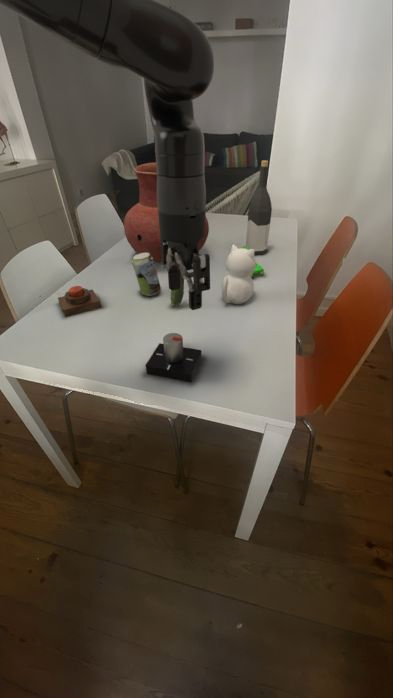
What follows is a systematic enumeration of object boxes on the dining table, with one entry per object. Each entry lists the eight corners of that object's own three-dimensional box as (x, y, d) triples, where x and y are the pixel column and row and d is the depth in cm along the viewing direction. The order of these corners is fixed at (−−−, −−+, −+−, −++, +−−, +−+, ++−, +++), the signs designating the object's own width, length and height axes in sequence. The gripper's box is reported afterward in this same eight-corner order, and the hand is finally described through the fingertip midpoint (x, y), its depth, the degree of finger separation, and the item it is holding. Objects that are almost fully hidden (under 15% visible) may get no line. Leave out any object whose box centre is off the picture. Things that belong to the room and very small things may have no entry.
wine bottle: (271, 252, 120) (283, 161, 101) (254, 257, 117) (263, 163, 98) (257, 246, 125) (266, 158, 107) (241, 250, 122) (247, 160, 104)
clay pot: (118, 272, 108) (99, 173, 90) (141, 242, 131) (130, 158, 113) (203, 276, 105) (203, 173, 86) (212, 244, 128) (213, 158, 109)
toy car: (228, 267, 110) (229, 249, 105) (244, 263, 112) (246, 245, 108) (247, 280, 102) (249, 260, 98) (264, 275, 104) (267, 256, 100)
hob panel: (146, 374, 67) (145, 365, 66) (160, 351, 74) (159, 342, 72) (191, 383, 65) (191, 373, 64) (202, 358, 71) (201, 349, 70)
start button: (72, 298, 87) (70, 293, 86) (69, 293, 89) (67, 287, 88) (85, 295, 88) (83, 289, 87) (82, 290, 91) (80, 284, 90)
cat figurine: (259, 295, 94) (265, 245, 84) (237, 313, 86) (241, 260, 77) (233, 287, 98) (236, 239, 89) (210, 304, 90) (210, 252, 81)
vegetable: (182, 301, 92) (178, 231, 80) (188, 308, 89) (186, 236, 76) (168, 305, 90) (162, 234, 78) (174, 312, 87) (169, 239, 75)
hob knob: (162, 361, 67) (159, 341, 64) (168, 350, 70) (166, 330, 67) (180, 364, 66) (178, 344, 63) (186, 353, 69) (185, 333, 66)
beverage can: (160, 297, 94) (156, 258, 86) (135, 298, 94) (129, 259, 87) (162, 288, 99) (158, 250, 91) (138, 288, 99) (133, 250, 92)
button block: (65, 317, 86) (61, 304, 84) (59, 304, 92) (55, 291, 89) (101, 307, 90) (98, 294, 88) (94, 295, 96) (91, 283, 93)
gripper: (142, 199, 53) (151, 287, 63) (180, 221, 43) (184, 321, 53) (182, 194, 56) (185, 279, 66) (226, 213, 46) (222, 310, 56)
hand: (184, 298), depth 59 cm, fingers open, 8 cm apart
